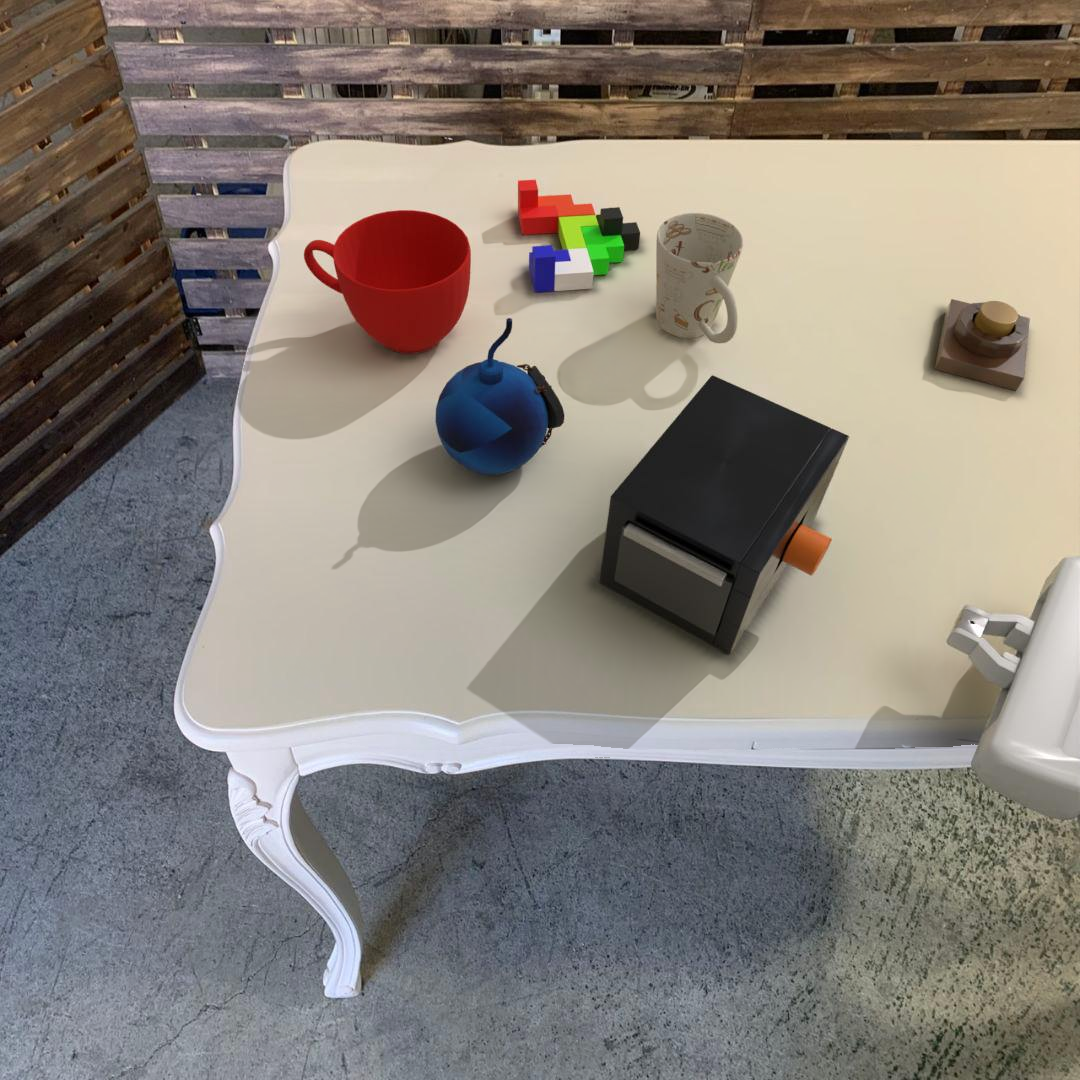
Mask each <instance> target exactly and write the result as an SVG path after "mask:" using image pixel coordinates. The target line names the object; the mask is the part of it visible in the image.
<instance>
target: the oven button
mask: <svg viewBox="0 0 1080 1080" xmlns="http://www.w3.org/2000/svg"><path fill="white" fill-rule="evenodd" d="M831 542H832V538H831V537H829V536H827V535H826V534H823V533H822V532H819V531H817V530H815V529H813V528H811V527H810V528H809V527H807V526H805V525H800V526H799V528H798V529H797V531H796V532H795V534H794V536H793V537H792V539H791V541H790V543H789V545H788V547H787V549H786V551H785V553H784V556H783V559H782V561H783V562H785V563H787V565H789V566H791V567H793V568H795V569H797V570H799V571H801V572H803V573H806V574H807V575H808V576H813V575H814V574H815V572H816V571H817V569H818V567H819V566H820V564H821V562H822V561H823V559H824V557H825V555H826V553H827V551H828V549H829V548H830V546H831Z"/></svg>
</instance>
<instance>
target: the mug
mask: <svg viewBox="0 0 1080 1080" xmlns="http://www.w3.org/2000/svg"><path fill="white" fill-rule="evenodd" d="M655 246H656V247H655V248H656V249H655V250H656V254H655V255H656V261H655V263H656V264H655V265H656V268H655V272H656V273H655V274H656V275H655V276H656V278H655V279H656V280H655V284H656V285H655V288H656V289H655V294H656V295H655V299H656V300H655V306H656V307H655V308H656V309H655V313H656V314H655V318H656V322H657V324H658V325H659V327H660V328H661V329H662V330H663V331H664V332H666V333H668V334H670V335H672V336H674V337H678V338H684V339H692V338H698V337H702V336H705V337H706V338H707V339H708V340H709V341H711V343H715V344H727V343H729V342H730V341H731V340H732V339H733V338H734V337H735V334H736V331H737V328H738V321H739V320H738V319H739V317H738V316H739V315H738V308H737V302H736V299H735V295H734V293H733V291H732V290H731V289H730V287H729V285H730V282H731V280H732V277H733V275H734V272H735V269H736V267H737V264H738V263H739V260H740V257H741V254H742V251H743V247H744V238H743V235H742V233H741V231H740V230H739V229H738V228H737V227H736V226H735V225H734V224H732V223H731V222H730V221H728V220H726V219H724V218H722V217H719V216H716V215H713V214H708V213H702V212H701V213H700V212H688V213H681V214H677V215H674V216H671V217H669V218H668V219H665V221H663V222H662V224H661V225H660V226H659V227H658V230H657V233H656V245H655ZM723 302H724V304H725V308H726V314H727V320H726V326H725V328H724V329H723V330H722V331H721V332H718V333H715V331H713V330H712V327H713V326H714V324H715V321H716V320H717V316H718V313H719V311H720V308H721V306H722V303H723Z"/></svg>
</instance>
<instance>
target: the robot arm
mask: <svg viewBox="0 0 1080 1080" xmlns="http://www.w3.org/2000/svg"><path fill="white" fill-rule="evenodd" d="M983 635H984V636H993V637H1000V638H1003V639H1002V644H1003V645H1005V646H1007V647H1009V648H1011V649H1013V650H1015V653H1014V654H1012V653H1011V652H1008V651H1004V652H1003V653H1002V654H999V652H998V651H997V650H996V649H995V648H994V647H993V646H992V645H991V644H990V643H989V642H988V641H987V640H986V639H985V638H984V637H983ZM945 642H946V644H947V645H948V646H949V647H951V648H953V649H955V650H957V651H958V652H961V653H963V654H964V655H967V657H968V659H969V660H970V661H971V663H972V664H973V665H974V667H975V668H976V669H977V670H978V672H979V673H980V674H981V675H982V676H983V678H984V679H985V680H986V681H988V682H990V683H992V684H994V685H995V686H998V687H1000V690H999V693H998V695H997V698H996V700H995V703H994V705H993V708H992V709H991V713H990V715H989V717H988V720H987V722H986V725H985V727H984V730H983V732H982V735H981V737H980V740H979V741H978V744H977V747H976V749H975V752H974V753H973V757H972V759H971V762H970V767H971V769H972V771H973V772H974V774H975V775H976V777H977V779H978V780H979V782H980V783H981V784H983V785H984V786H985V787H987V788H988V789H990V790H992V791H993V792H995V793H997V794H999V795H1001V796H1002V797H1005V798H1006V799H1008V800H1010V801H1012V802H1014V803H1016V804H1018V805H1020V806H1021V807H1024V808H1027V809H1029V810H1031V811H1034V812H1036V813H1038V814H1040V815H1042V816H1045V817H1047V818H1050V819H1054V820H1058V821H1071V820H1074V819H1076V818H1077V819H1076V820H1077V825H1078V826H1079V827H1080V556H1064V557H1063V558H1062V559H1061V560H1060V561H1059V562H1058V563H1057V565H1056V566H1055V567H1054V568H1053V569H1052V571H1051V572H1050V573H1049V575H1048V576H1047V577H1046V579H1045V581H1044V583H1043V585H1042V587H1041V590H1040V593H1039V595H1038V597H1037V600H1036V602H1035V605H1034V607H1033V610H1032V612H1031V615H1030V616H1029V617H1027V616H1025V615H1022V614H1019V613H989V612H986V611H984V610H982V609H981V608H978V607H976V606H974V605H972V604H965V605H964V606H963V607H962V609H961V610H959V612H958V615H957V616H956V619H955V621H954V624H953V625H952V628H951V630H950V632H949V634H948V636H947V638H946V641H945Z"/></svg>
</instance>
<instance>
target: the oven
mask: <svg viewBox="0 0 1080 1080" xmlns="http://www.w3.org/2000/svg"><path fill="white" fill-rule="evenodd" d="M849 439H850V436H849V434H846V433H844V432H842V431H839V430H836V429H834V428H832V427H829V426H828V425H825V424H823V423H821V422H819V421H817V420H814V419H812V418H810V417H808V416H805V415H803V414H801V413H799V412H797V411H794V410H792V409H790V408H787V407H785V406H783V405H781V404H778V403H777V402H774V401H772V400H770V399H767V398H765V397H763V396H760V395H758V394H756V393H755V392H752V391H749V390H747V389H744V388H742V387H740V386H738V385H736V384H733V383H731V382H729V381H727V380H724V379H722V378H721V377H718V376H716V375H714V374H711V376H709V378H708V379H707V380H706V382H705V383H704V384H703V385H702V386H701V387H700V388H699V390H698V391H697V392H696V393H695V395H694V396H693V397H692V398H691V399H690V401H689V402H688V403H687V404H686V405H685V406H684V408H683V409H682V410H681V411H680V413H679V414H678V415H677V416H676V418H675V419H674V420H673V421H672V422H671V423H670V424H669V426H668V427H667V428H666V430H665V431H664V432H663V433H662V434H661V435H660V436H659V438H658V439H657V440H656V441H655V442H654V444H653V445H652V446H651V447H650V448H649V450H647V452H646V453H645V454H644V456H643V457H642V458H641V459H640V461H639V462H638V463H637V464H636V465H635V466H634V468H633V469H632V470H631V471H630V472H629V474H628V475H627V476H626V477H625V478H624V479H623V481H622V482H621V483H620V484H619V486H618V487H617V488H616V489H615V490H614V491H613V493H612V494H610V499H609V506H608V513H607V522H606V529H605V536H604V543H603V550H602V551H603V553H602V559H601V566H600V573H599V581H598V583H599V584H601V585H603V586H605V587H607V588H608V589H610V590H612V591H614V592H615V593H616V594H619V595H621V596H623V597H624V598H626V599H628V600H630V601H631V602H633V603H635V604H637V605H638V606H640V607H643V608H644V609H646V610H648V611H649V612H651V613H653V614H655V615H657V616H659V617H660V618H662V619H664V620H665V621H667V622H669V623H671V624H673V625H675V626H676V627H678V628H680V629H682V630H684V631H686V632H688V633H689V634H691V635H693V636H694V637H697V638H698V639H700V640H702V641H703V642H706V643H707V644H709V645H711V646H713V647H714V648H716V649H718V650H720V651H721V652H723V653H725V654H727V655H731V653H732V652H733V650H734V649H735V647H736V646H737V644H738V642H739V640H741V638H742V636H743V634H744V633H745V631H746V629H748V627H749V625H750V623H751V622H752V621H753V619H754V617H755V615H756V614H757V612H758V611H759V609H760V608H761V606H762V604H763V603H764V601H765V600H766V598H767V597H768V595H769V594H770V592H771V590H772V589H773V587H774V586H775V584H776V583H777V581H778V579H779V578H780V576H781V575H782V573H783V572H784V570H785V569H786V566H787V565H788V564H787V563H785V562H783V561H782V559H783V556H784V553H785V551H786V549H787V547H788V545H789V543H790V541H791V539H792V537H793V536H794V534H795V532H796V531H797V529H798V528H799V526H800V525H805V526H807V527H809V528H811V527H812V526H813V524H814V521H815V519H816V517H817V515H818V512H819V510H820V507H821V505H822V502H823V500H824V497H825V496H826V493H827V491H828V488H829V486H830V483H831V481H832V479H833V477H834V474H835V472H836V470H837V467H838V464H839V463H840V460H841V458H842V455H843V453H844V450H845V448H846V446H847V444H848V441H849Z"/></svg>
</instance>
